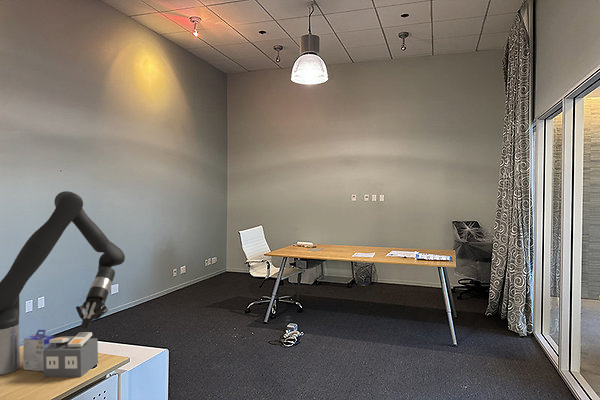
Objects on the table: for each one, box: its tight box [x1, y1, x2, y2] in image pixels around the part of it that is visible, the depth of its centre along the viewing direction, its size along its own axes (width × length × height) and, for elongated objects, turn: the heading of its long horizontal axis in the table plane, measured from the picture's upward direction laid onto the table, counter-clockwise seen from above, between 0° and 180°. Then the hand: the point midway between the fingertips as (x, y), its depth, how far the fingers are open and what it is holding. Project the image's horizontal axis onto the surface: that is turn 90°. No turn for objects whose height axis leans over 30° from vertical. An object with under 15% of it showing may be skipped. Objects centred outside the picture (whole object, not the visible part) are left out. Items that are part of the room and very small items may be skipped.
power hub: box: [43, 337, 99, 378], centre depth 153 cm, size 14×12×11 cm
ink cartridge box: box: [22, 329, 55, 372], centre depth 155 cm, size 10×6×14 cm, turn 78°
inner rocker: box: [49, 335, 76, 344], centre depth 153 cm, size 5×8×1 cm, turn 179°
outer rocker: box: [68, 331, 93, 347], centre depth 153 cm, size 5×8×1 cm, turn 179°
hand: (84, 329), depth 156 cm, fingers closed
